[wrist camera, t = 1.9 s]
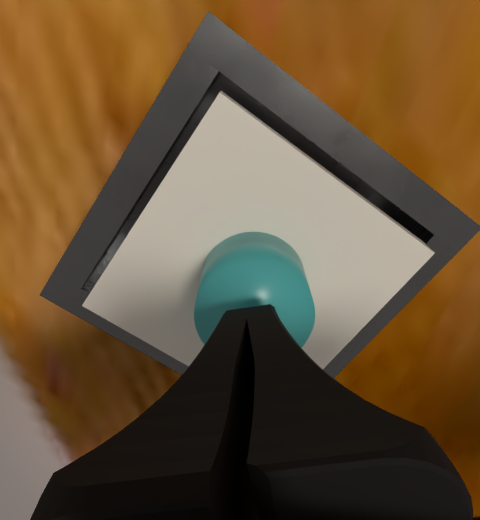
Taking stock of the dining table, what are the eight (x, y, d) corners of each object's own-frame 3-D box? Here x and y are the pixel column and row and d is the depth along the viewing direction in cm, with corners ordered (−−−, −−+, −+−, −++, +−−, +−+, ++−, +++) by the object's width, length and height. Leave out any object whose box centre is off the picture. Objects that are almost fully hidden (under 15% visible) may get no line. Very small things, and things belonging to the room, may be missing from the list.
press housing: (438, 197, 20) (482, 227, 16) (276, 374, 24) (281, 430, 20) (215, 22, 17) (208, 11, 14) (74, 255, 21) (39, 295, 18)
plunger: (424, 242, 16) (469, 286, 13) (275, 399, 19) (282, 468, 16) (221, 90, 14) (214, 98, 11) (90, 292, 17) (54, 346, 14)
